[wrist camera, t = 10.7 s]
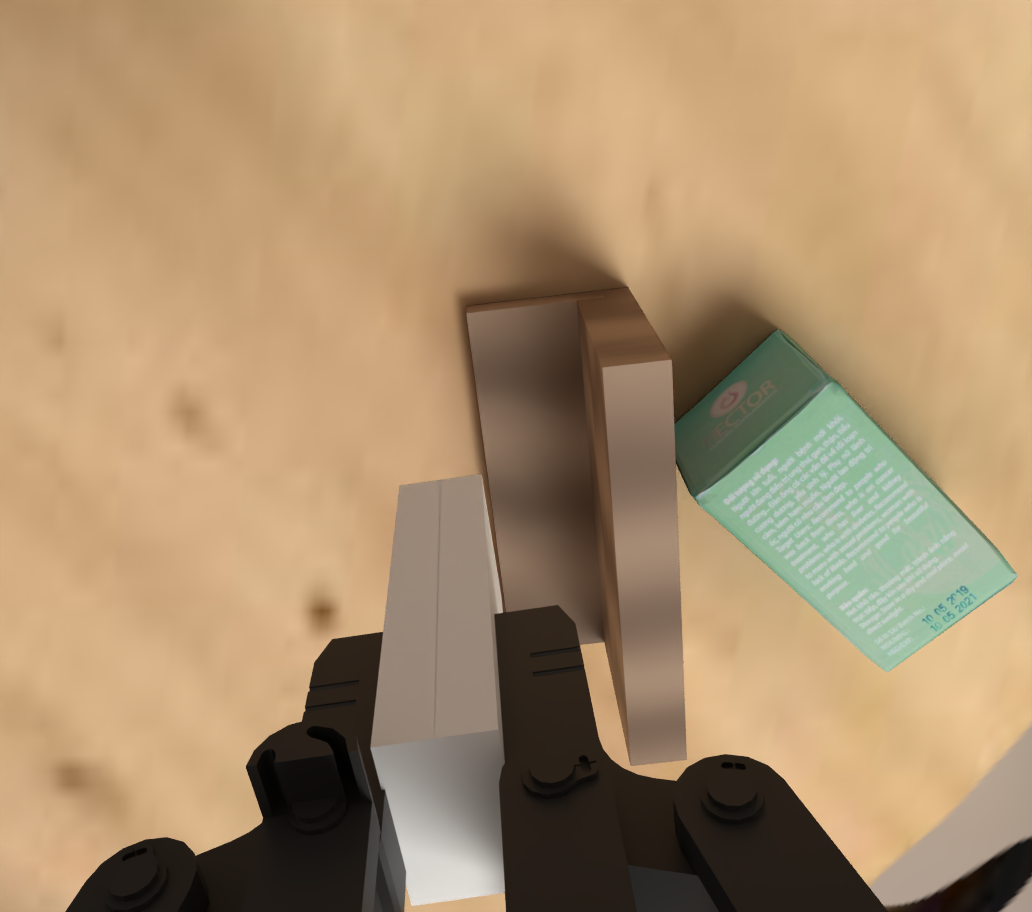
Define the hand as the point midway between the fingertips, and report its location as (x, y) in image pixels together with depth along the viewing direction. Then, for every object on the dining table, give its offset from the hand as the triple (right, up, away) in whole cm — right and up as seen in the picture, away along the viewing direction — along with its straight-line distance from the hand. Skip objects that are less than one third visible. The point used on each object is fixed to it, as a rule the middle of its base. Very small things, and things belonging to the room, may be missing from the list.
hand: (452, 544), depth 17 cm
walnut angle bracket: (+3, +1, +27) cm, 28 cm away
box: (+15, +1, +28) cm, 32 cm away
